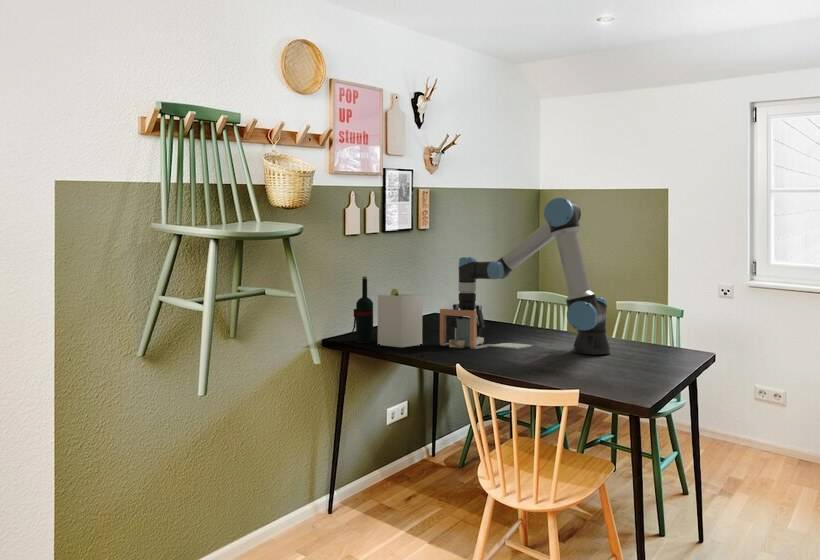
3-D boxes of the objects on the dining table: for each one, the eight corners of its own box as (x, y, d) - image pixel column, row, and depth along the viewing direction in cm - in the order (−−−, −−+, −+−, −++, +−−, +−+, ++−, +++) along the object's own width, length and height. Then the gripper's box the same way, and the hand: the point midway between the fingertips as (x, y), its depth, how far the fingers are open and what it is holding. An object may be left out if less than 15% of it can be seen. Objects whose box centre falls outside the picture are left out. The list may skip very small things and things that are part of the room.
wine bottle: (355, 341, 296) (355, 276, 296) (375, 342, 293) (376, 276, 292) (348, 343, 289) (348, 276, 288) (369, 344, 286) (369, 276, 285)
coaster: (532, 346, 281) (532, 344, 281) (516, 349, 271) (516, 347, 271) (506, 343, 289) (506, 342, 289) (490, 346, 279) (490, 345, 279)
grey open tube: (451, 345, 282) (451, 318, 282) (466, 343, 289) (466, 317, 289) (469, 347, 275) (470, 319, 275) (484, 345, 282) (484, 318, 282)
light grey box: (422, 344, 286) (422, 295, 285) (401, 347, 275) (401, 295, 274) (398, 342, 295) (398, 294, 294) (377, 344, 284) (377, 294, 284)
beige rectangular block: (483, 344, 287) (483, 337, 287) (460, 348, 274) (460, 341, 274) (472, 343, 291) (472, 336, 291) (449, 346, 277) (449, 339, 277)
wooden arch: (476, 346, 272) (476, 310, 272) (473, 346, 270) (473, 311, 270) (442, 343, 284) (442, 308, 283) (439, 343, 282) (439, 309, 282)
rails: (494, 345, 282) (494, 344, 282) (474, 348, 271) (474, 347, 271) (460, 342, 294) (460, 341, 294) (440, 345, 283) (440, 344, 283)
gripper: (493, 292, 277) (493, 344, 278) (451, 291, 292) (451, 340, 292) (483, 293, 272) (483, 346, 272) (441, 292, 286) (441, 342, 286)
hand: (467, 343), depth 282 cm, fingers open, 10 cm apart
